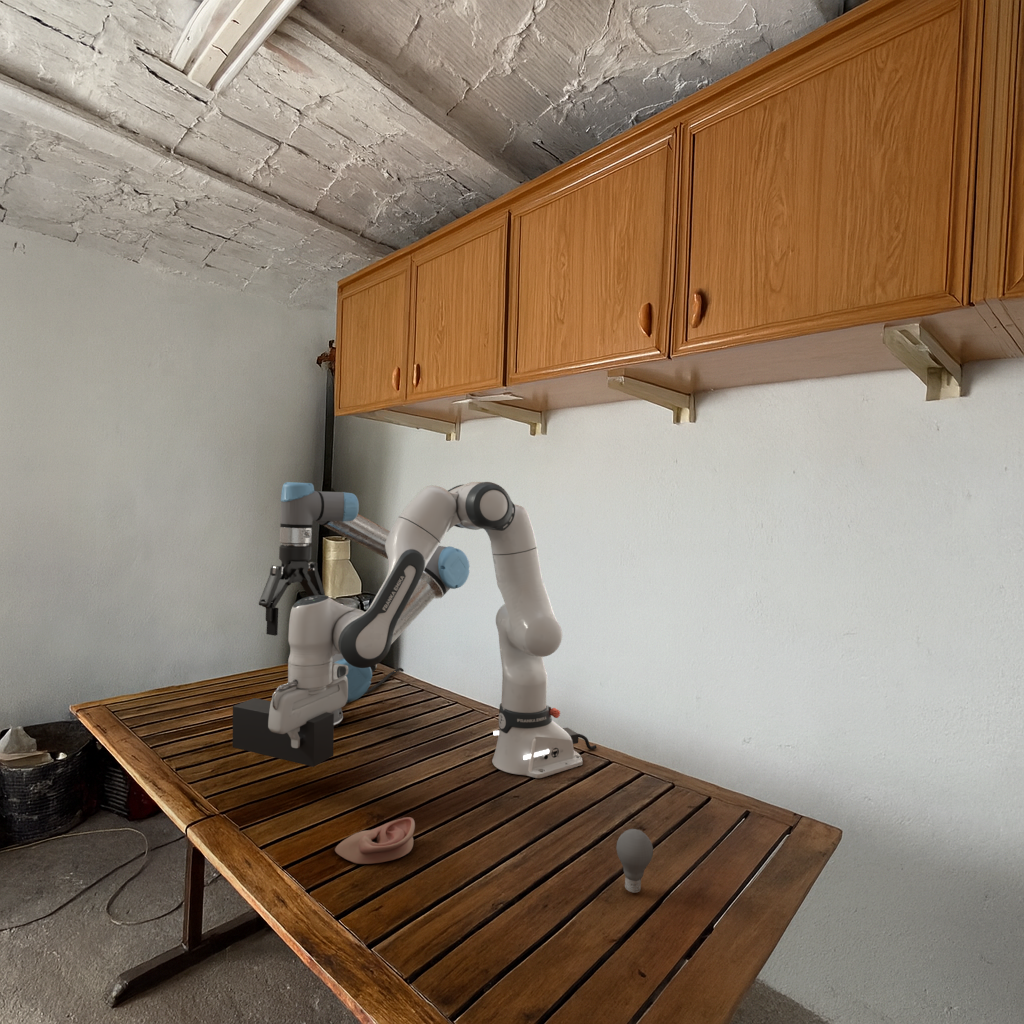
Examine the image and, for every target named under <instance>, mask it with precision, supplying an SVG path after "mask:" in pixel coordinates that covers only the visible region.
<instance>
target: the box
mask: <svg viewBox="0 0 1024 1024" xmlns="http://www.w3.org/2000/svg"><path fill="white" fill-rule="evenodd" d="M270 704H271V700H266V699H262V698H256V697H253V698H250V699H249V700H246V701H243V702H240V703H237V704H235V705H233V706H232V748H233V749H238V750H242V751H247V752H251V753H255V754H259V755H263V756H267V757H271V758H275V759H280V760H283V761H288V762H292V763H295V764H300V765H304V766H307V767H312V768H315V767H316V766H318V765H320V764H321V763H323V762H326V761H327V760H329V759H330V758H332V757H334V738H335V735H334V733H335V731H334V729H335V728H334V714H333V713H328V712H326V713H324V714H321V715H319V716H317V717H315V718H313V719H310V720H308V721H307V722H306V724H304V725H302V726H300V731H299V732H298V735H299V737H302V738H303V745H302V746H301V747H299V748H293V747H292V746H291V738H290V737H289V735H288V733H285V734H278V733H274V732H271V731H270V729H269V728H268V720H269V711H270Z"/></svg>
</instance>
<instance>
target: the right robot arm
mask: <svg viewBox="0 0 1024 1024" xmlns="http://www.w3.org/2000/svg"><path fill="white" fill-rule="evenodd" d="M453 527H456V528H460V529H467V530H473V531H474V530H475V531H477V530H484V531H485V532H486V534H487V537H488V538H489V541H490V549H491V555H492V561H493V568H494V572H495V579H496V585H497V588H498V590H499V592H500V594H501V597H502V599H503V602H504V604H502V605H501V606H500V607H499V609H498V610H497V612H496V615H495V625H496V629H497V633H498V644H499V645H498V646H499V653H500V661H501V675H502V677H501V678H502V679H501V702H500V704H499V710H498V730H493V736H497V741H496V746H495V750H494V752H493V753H494V754H493V756H492V759H491V762H492V765H493V766H494V767H495V768H496V769H498V770H500V771H502V772H504V773H508V774H513V775H519V776H527V777H531V778H533V779H534V778H535V779H542V778H546V777H548V776H552V775H555V774H558V773H561V772H565V771H568V770H570V769H574V768H577V767H580V766H583V757H582V756H581V754H580V753H578V752H577V750H575V749H574V745H576V744H579V738H580V739H582V740H583V741H584V742H585V746H586V748H587V749H588V750H589V751H593V750H596V749H597V745H596V744H594V745H590V741H589V739H588V738H587V736H585V735H584V734H581V733H577V732H576V731H575V730H572V729H571V728H569V727H561V726H560V725H559V724H558V723H557V722H555V720H553V718H555V719H558V718H560V716H561V711H560V709H558V708H556V707H551V706H550V705H548V704H547V698H548V672H547V669H546V665H545V661H544V658H545V657H548V656H550V655H551V656H552V654H554V653H555V652H556V651H557V650H558V649H559V647H560V645H561V644H562V640H563V629H562V627H561V625H560V623H559V621H558V619H557V617H556V615H555V612H554V608H553V606H552V605H553V604H552V603H551V602H552V601H551V599H550V596H549V593H548V591H547V588H546V584H545V581H544V578H543V574H542V569H541V568H542V567H541V562H540V556H539V555H540V554H539V551H538V550H539V549H538V544H537V543H538V542H537V539H536V534H535V530H534V527H533V523H532V521H531V518H530V515H529V512H528V510H527V509H526V508H525V507H524V506H521V505H520V504H516V503H515V504H514V502H513V501H512V499H511V496H510V495H509V493H508V492H507V491H506V490H505V488H504V487H502V486H501V485H500V484H498V483H495V482H491V481H471V482H468V483H465V484H459V485H455V486H453V487H452V488H450V489H448V490H447V489H446V488H443V487H441V486H440V485H439V486H438V485H432V484H431V485H426V486H424V487H423V488H422V489H420V490H419V492H417V493H416V495H415V496H414V497H413V498H412V499H411V500H410V501H409V502H408V504H407V505H406V506H405V507H404V508H403V510H402V511H401V512H400V514H399V515H398V517H397V518H396V520H395V521H394V523H393V524H392V527H391V528H390V530H389V531H390V532H389V535H388V537H387V539H386V542H385V549H386V553H387V556H388V559H387V560H388V571H387V574H386V577H385V579H384V581H383V583H382V584H381V586H380V588H379V589H378V592H377V593H376V595H375V597H374V598H373V600H372V602H371V603H370V605H369V607H368V608H367V609H366V611H364V610H362V609H359V608H356V607H351V606H348V605H346V604H342V603H340V602H338V601H336V600H334V599H333V598H331V597H330V596H328V595H326V594H325V595H314V596H306V597H303V598H301V599H298V600H297V601H296V602H295V603H294V604H293V605H292V606H291V610H290V612H289V613H290V614H289V621H288V638H287V639H288V645H289V650H290V651H289V657H288V659H287V660H288V661H287V683H283V684H281V685H278V686H277V688H276V689H275V690H274V692H273V693H272V696H271V700H270V701H271V704H270V711H269V720H268V728H269V729H270V731H271V732H274V733H278V734H285V733H288V735H289V737H290V738H291V746H292V747H293V748H299V747H301V746H302V745H303V738H302V737H299V735H298V732H299V731H300V726H302V725H304V724H306V722H307V721H308V720H310V719H313V718H315V717H317V716H319V715H321V714H324V713H326V712H328V713H331V712H332V711H335V710H337V709H339V708H341V709H342V708H343V707H345V706H346V705H347V704H346V702H347V699H348V679H347V677H346V675H347V674H348V666H347V665H343V664H338V663H334V662H333V656H334V655H335V654H340V653H341V654H342V656H343V657H344V659H345V660H346V661H347V662H348V663H349V664H350V665H352V666H354V667H358V668H368V667H372V666H374V665H376V664H377V665H378V664H379V663H380V662H382V661H383V660H384V659H385V658H386V657H387V655H388V653H390V650H391V646H392V644H393V643H392V637H393V632H394V628H395V626H396V623H397V621H398V619H399V617H400V616H401V614H402V612H403V610H404V608H405V606H406V604H407V603H408V601H409V599H410V597H411V595H412V593H413V592H414V590H415V588H416V586H417V584H418V582H419V580H420V578H421V576H422V573H423V571H424V570H425V567H426V566H427V564H428V562H429V560H430V559H431V557H432V556H433V554H434V552H435V551H436V549H437V548H438V546H440V545H441V543H442V541H443V540H444V539H445V537H446V535H447V533H448V532H449V531H450V530H451V529H452V528H453ZM391 643H392V644H391ZM552 717H553V718H552Z"/></svg>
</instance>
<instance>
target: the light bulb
mask: <svg viewBox="0 0 1024 1024" xmlns="http://www.w3.org/2000/svg"><path fill="white" fill-rule="evenodd" d="M615 849H616V854H617V857H618V859H619V861H620V863H621V865H622V867H623V873H624V874H623V875H624V876H625V878H624V888H625V890H627V891H628V892H630V893H634V894H635V893H639V892H640V891H641V889H642V887H641V886H642V879H643V877H644V875H645V871H646V868H647V867H648V866H649V864H650V863H651V861H652V859H653V855H654V847H653V843H652V841H651V838H649V836H648V835H647V834H646V833H645V832H643V831H642V830H641V829H636V828H629V829H627V830H625V831H623V832H622V833H621V834H620V835H619V837H618V839H617V841H616V847H615Z"/></svg>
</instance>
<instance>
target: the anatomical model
mask: <svg viewBox="0 0 1024 1024" xmlns="http://www.w3.org/2000/svg"><path fill="white" fill-rule="evenodd" d="M415 828H416V823H415V820H414V818H413V817H410V816H409V817H402V818H398V819H395V820H392V821H389V822H386V823H384V824H382V825H380V826H377V827H375V828H372V829H368V830H361V831H358V832H356V833H353V834H352V835H350V836H348V837H346V838H345V839H343V840H342V841H340V843H338V844H337V845H336V846H335V848H334V852H335V853H336V854H337V855H338V856H340V857H341V858H343V859H344V860H347V861H348V862H351V863H353V864H357V865H369V864H370V865H371V864H380V863H385V862H390V861H394V860H398V859H400V858H402V857H404V856H407V855H408V854H409V853H410V852H411V851H412V849H413V847H414V837H413V835H414V833H415Z"/></svg>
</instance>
